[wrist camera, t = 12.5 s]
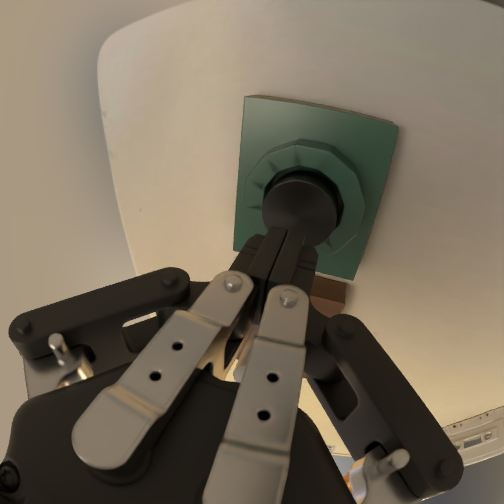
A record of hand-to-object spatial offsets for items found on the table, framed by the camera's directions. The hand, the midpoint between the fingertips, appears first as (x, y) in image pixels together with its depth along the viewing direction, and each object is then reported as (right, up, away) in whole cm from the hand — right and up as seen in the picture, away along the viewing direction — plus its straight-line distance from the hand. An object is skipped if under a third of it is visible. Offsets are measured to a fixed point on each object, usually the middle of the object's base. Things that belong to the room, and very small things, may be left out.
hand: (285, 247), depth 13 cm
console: (+3, +4, +7) cm, 9 cm away
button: (+1, +3, +4) cm, 5 cm away
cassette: (+32, -25, +16) cm, 44 cm away
